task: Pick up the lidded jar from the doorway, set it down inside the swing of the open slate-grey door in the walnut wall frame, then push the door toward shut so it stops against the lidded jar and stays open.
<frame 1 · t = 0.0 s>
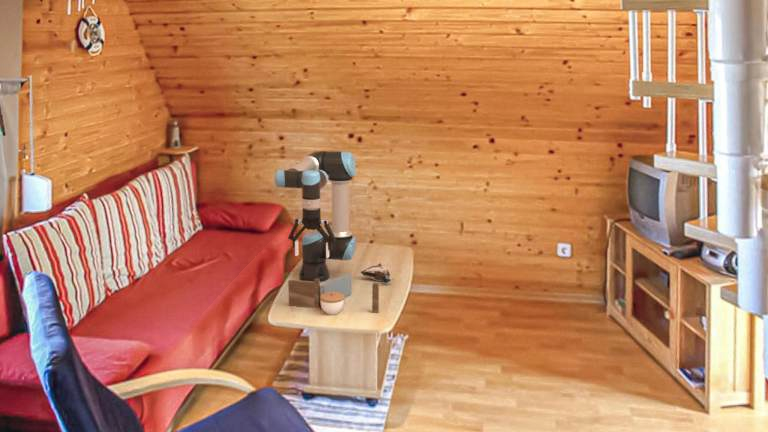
hand: (312, 256, 301), 28 cm above the table, fingers open, 13 cm apart
door: (335, 290, 326), point 5 cm above the table, hinge at 65.0°
decorative duck model: (376, 282, 352), on the table
lidded jar: (332, 312, 314), on the table
wall frame: (321, 307, 319), on the table
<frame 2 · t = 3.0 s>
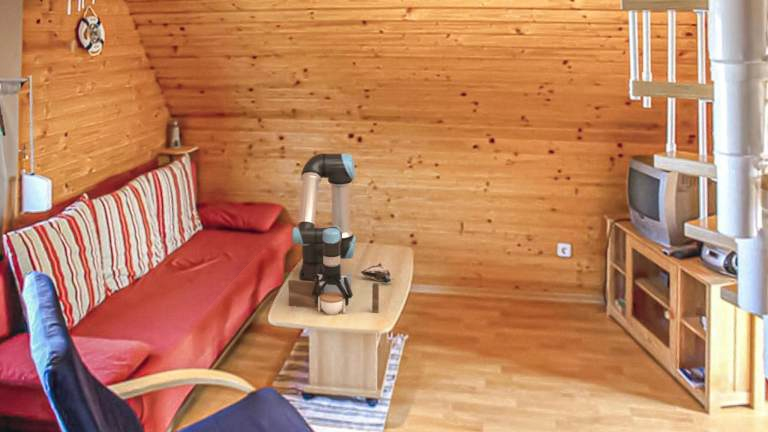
hand: (332, 311, 314), 0 cm above the table, fingers closed on lidded jar, 11 cm apart
lidded jar: (332, 312, 314), on the table, touching gripper
everything else where it was.
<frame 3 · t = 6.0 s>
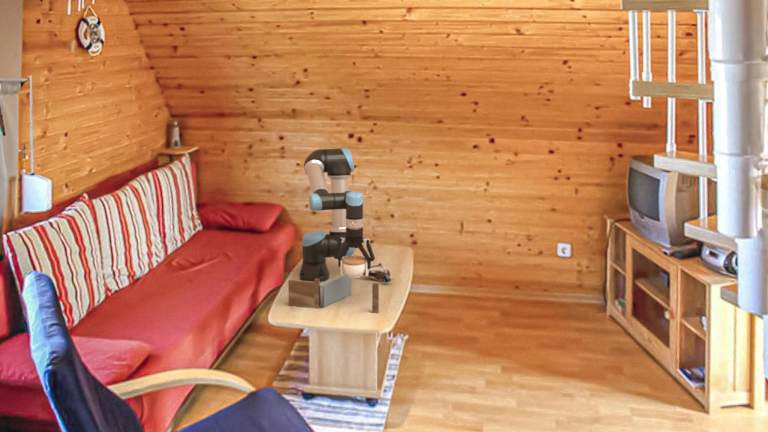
hand: (354, 274, 318), 15 cm above the table, fingers closed on lidded jar, 11 cm apart
lidded jar: (354, 276, 318), point 14 cm above the table, touching gripper
everything else where it was.
when the fingers open (2 cm above the table, at t = 8.9 s): lidded jar drops 1 cm, on the table.
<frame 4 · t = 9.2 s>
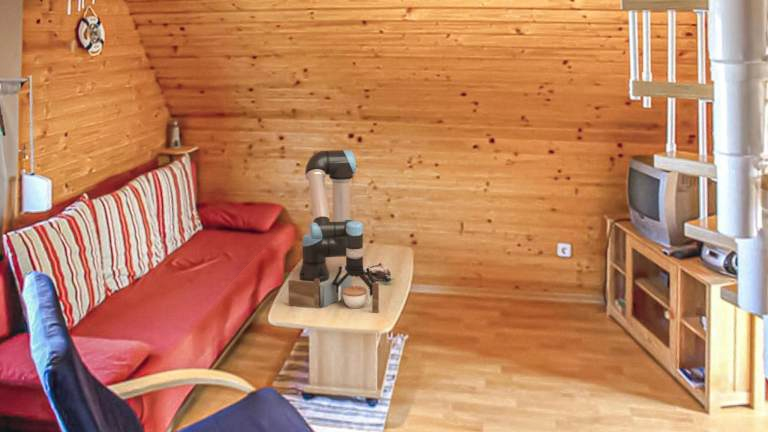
hand: (354, 300, 321), 2 cm above the table, fingers open, 13 cm apart
lidded jar: (354, 306, 322), on the table
everything else where it was.
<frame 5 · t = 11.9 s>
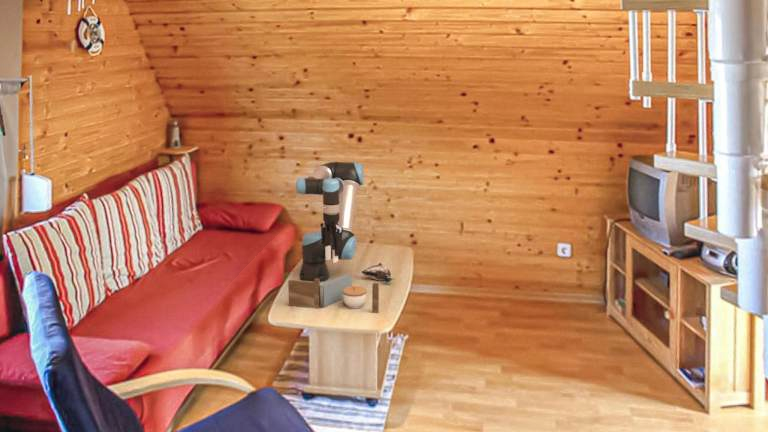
hand: (331, 260, 331), 17 cm above the table, fingers open, 4 cm apart
nothing on the table moved.
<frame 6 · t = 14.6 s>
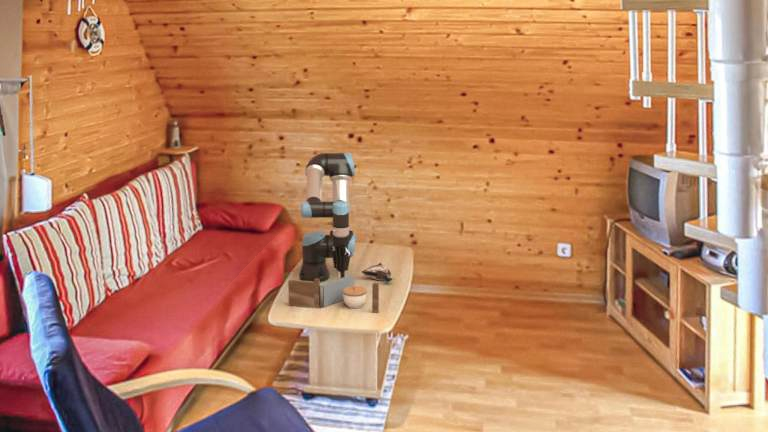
hand: (340, 283, 330), 7 cm above the table, fingers closed
door: (336, 290, 325), point 5 cm above the table, hinge at 60.1°, touching gripper
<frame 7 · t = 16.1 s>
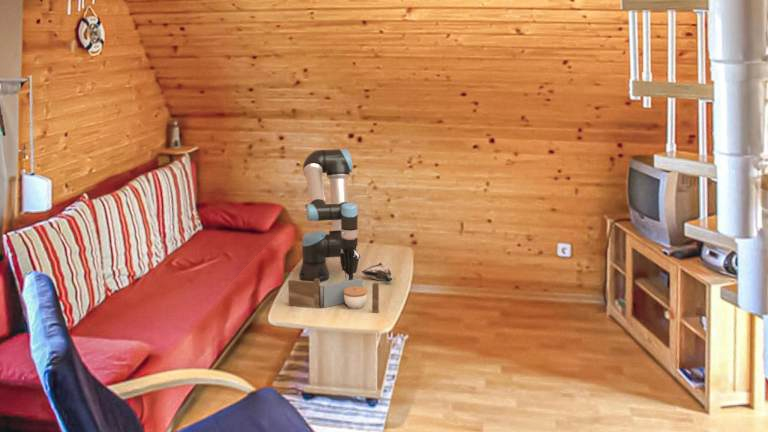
hand: (349, 286, 328), 6 cm above the table, fingers closed
door: (341, 292, 323), point 5 cm above the table, hinge at 41.6°, touching gripper, lidded jar
lidded jar: (355, 306, 321), on the table, touching door
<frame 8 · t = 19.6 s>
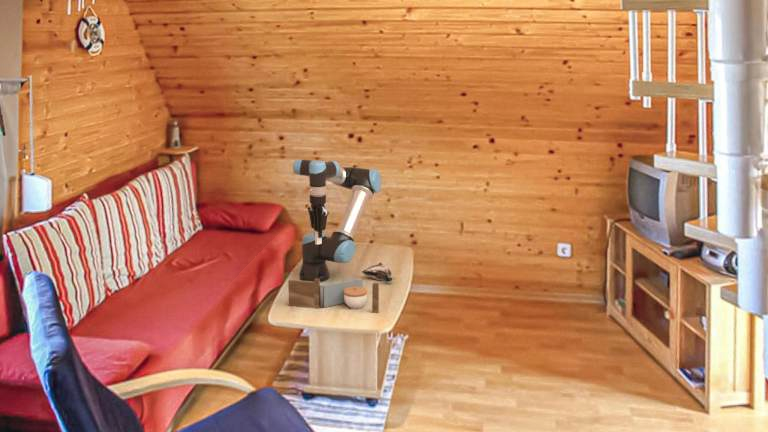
hand: (318, 243, 331), 24 cm above the table, fingers closed
door: (341, 292, 323), point 5 cm above the table, hinge at 41.5°, touching lidded jar
at the end: door at +42° (first picture: +65°); lidded jar 0.6 cm from the target spot, on the table; lidded jar tilted 0° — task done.
